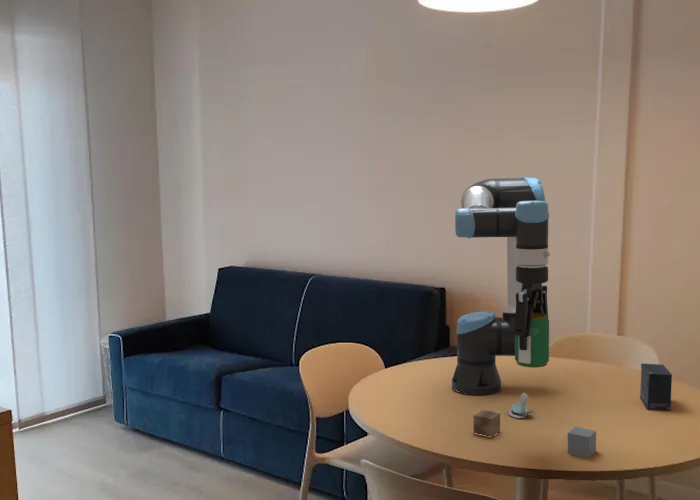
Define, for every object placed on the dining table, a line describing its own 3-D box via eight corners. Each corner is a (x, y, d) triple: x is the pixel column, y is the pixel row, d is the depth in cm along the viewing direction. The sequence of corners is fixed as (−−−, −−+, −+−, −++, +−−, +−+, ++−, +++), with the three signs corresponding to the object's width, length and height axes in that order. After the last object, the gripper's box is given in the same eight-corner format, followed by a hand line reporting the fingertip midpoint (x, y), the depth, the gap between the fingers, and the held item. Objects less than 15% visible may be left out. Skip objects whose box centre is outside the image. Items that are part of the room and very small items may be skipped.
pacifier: (514, 421, 186) (535, 419, 187) (514, 399, 186) (535, 396, 187) (504, 412, 193) (524, 410, 194) (503, 390, 193) (523, 388, 194)
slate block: (567, 453, 164) (567, 432, 164) (575, 446, 168) (575, 426, 168) (588, 458, 161) (589, 437, 161) (595, 451, 165) (596, 430, 164)
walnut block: (473, 434, 178) (473, 415, 177) (482, 428, 182) (482, 409, 181) (491, 438, 175) (491, 418, 174) (500, 432, 179) (500, 413, 178)
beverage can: (554, 362, 169) (555, 314, 168) (538, 370, 163) (539, 319, 162) (525, 357, 174) (525, 310, 173) (508, 364, 169) (508, 315, 167)
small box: (672, 411, 190) (673, 374, 189) (647, 410, 191) (647, 373, 190) (663, 399, 200) (664, 363, 199) (639, 398, 202) (639, 362, 201)
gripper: (529, 272, 156) (529, 371, 158) (562, 261, 172) (562, 351, 175) (498, 270, 160) (499, 366, 163) (533, 259, 177) (533, 347, 179)
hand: (531, 358), depth 169 cm, fingers closed on beverage can, 8 cm apart
